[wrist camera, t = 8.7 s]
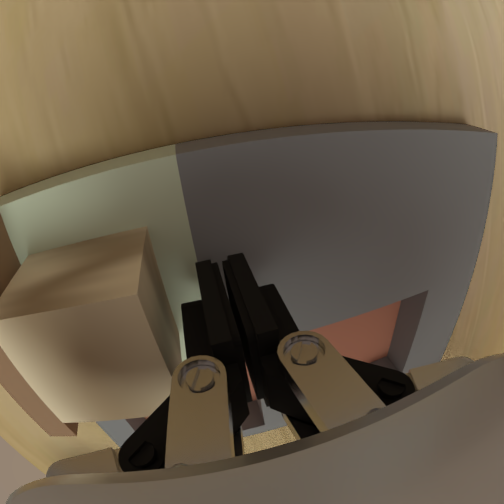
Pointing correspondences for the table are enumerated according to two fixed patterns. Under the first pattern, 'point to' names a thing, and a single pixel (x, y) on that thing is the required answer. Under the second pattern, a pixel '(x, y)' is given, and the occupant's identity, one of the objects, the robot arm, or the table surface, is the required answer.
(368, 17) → the table surface
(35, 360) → the maple block
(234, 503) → the robot arm
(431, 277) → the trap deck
